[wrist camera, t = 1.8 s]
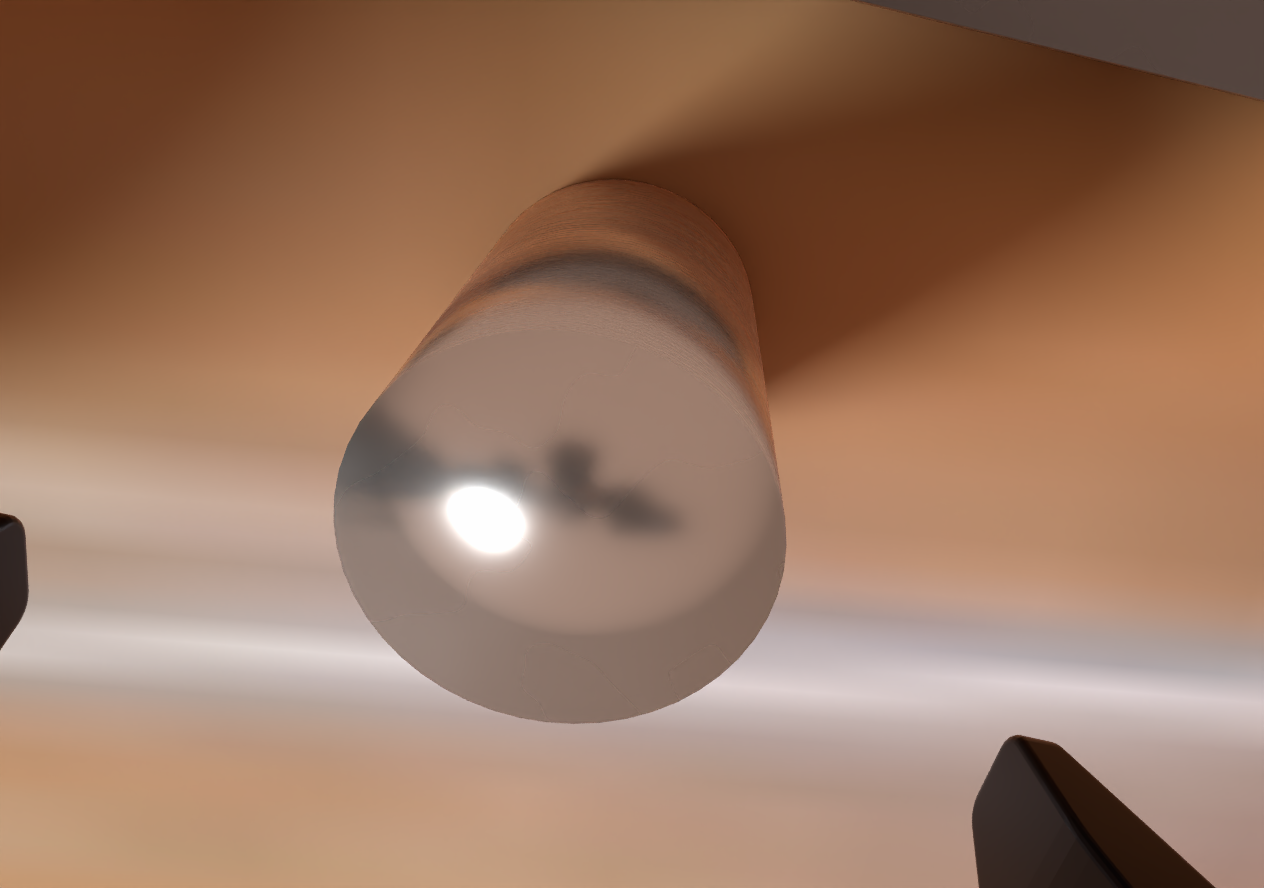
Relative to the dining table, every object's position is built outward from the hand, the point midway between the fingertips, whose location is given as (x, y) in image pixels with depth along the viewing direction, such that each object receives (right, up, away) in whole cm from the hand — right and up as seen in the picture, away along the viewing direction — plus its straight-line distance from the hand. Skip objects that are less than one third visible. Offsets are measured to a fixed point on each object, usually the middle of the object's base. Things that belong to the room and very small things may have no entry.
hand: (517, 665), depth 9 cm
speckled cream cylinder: (+1, +4, +9) cm, 10 cm away
